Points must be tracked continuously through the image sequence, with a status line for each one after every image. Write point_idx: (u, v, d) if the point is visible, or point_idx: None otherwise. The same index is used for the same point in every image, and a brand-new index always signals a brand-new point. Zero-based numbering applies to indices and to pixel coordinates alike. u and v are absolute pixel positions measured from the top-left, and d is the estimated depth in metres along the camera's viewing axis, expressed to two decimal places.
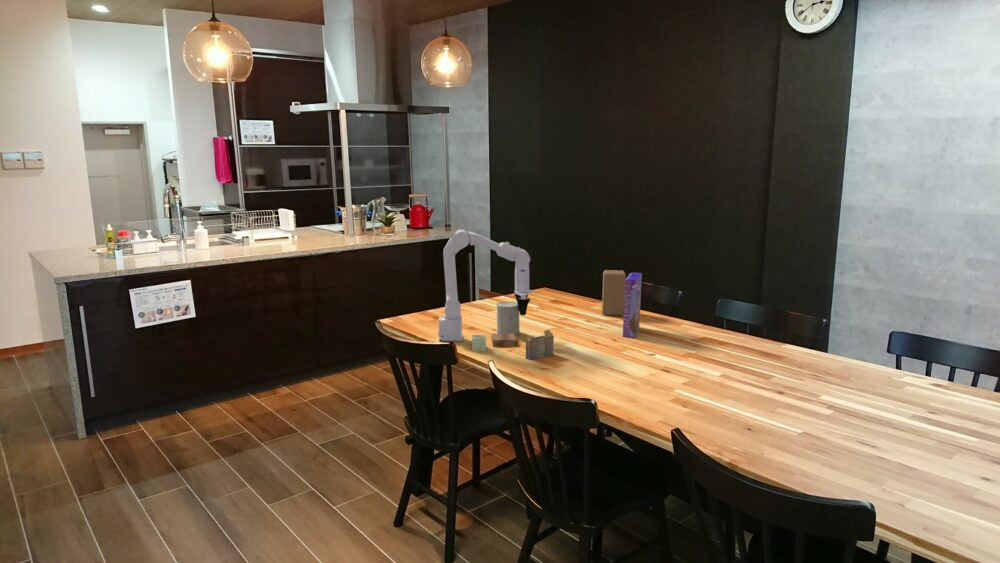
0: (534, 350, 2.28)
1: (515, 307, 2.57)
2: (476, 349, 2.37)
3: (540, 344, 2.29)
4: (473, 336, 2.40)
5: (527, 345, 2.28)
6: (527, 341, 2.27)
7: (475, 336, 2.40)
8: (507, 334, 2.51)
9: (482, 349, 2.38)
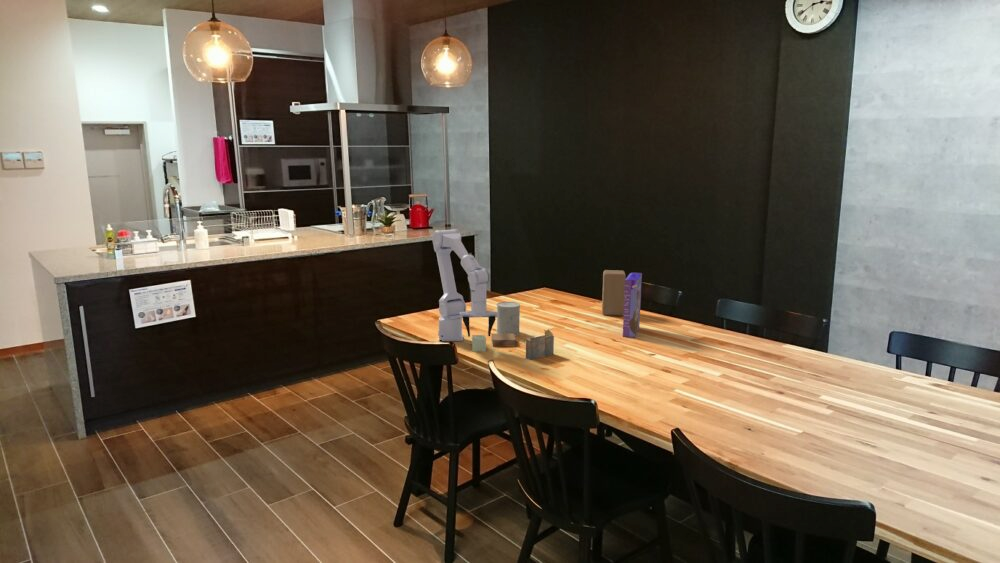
0: (534, 350, 2.28)
1: (515, 307, 2.56)
2: (476, 349, 2.37)
3: (540, 344, 2.29)
4: (473, 336, 2.40)
5: (527, 345, 2.28)
6: (527, 341, 2.27)
7: (475, 336, 2.40)
8: (507, 334, 2.51)
9: (482, 349, 2.38)
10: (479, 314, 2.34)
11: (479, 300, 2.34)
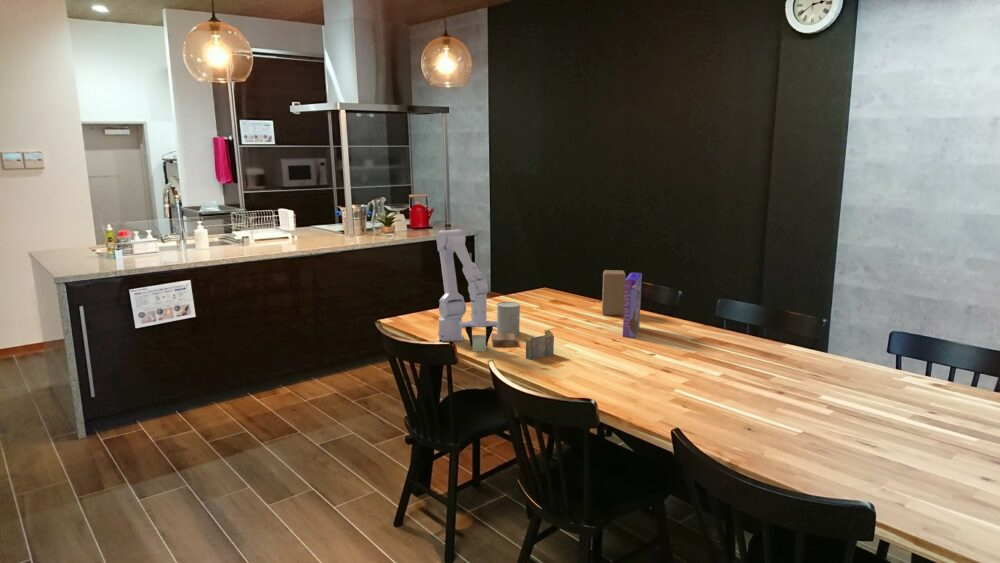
0: (534, 350, 2.28)
1: (515, 307, 2.57)
2: (476, 349, 2.37)
3: (540, 344, 2.29)
4: (473, 336, 2.40)
5: (527, 345, 2.28)
6: (527, 341, 2.27)
7: (475, 336, 2.40)
8: (507, 334, 2.51)
9: (482, 349, 2.38)
10: (479, 324, 2.35)
11: (479, 310, 2.34)
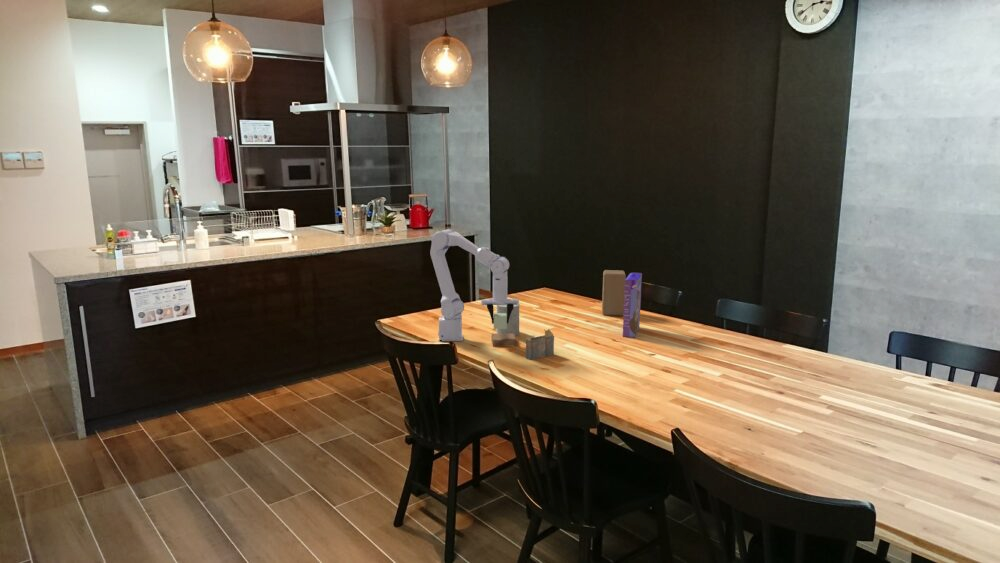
0: (534, 350, 2.28)
1: (515, 307, 2.56)
2: (497, 327, 2.43)
3: (540, 344, 2.29)
4: (494, 314, 2.45)
5: (527, 345, 2.28)
6: (527, 341, 2.27)
7: (496, 314, 2.45)
8: (507, 334, 2.51)
9: (503, 327, 2.43)
10: (500, 302, 2.40)
11: (504, 288, 2.41)
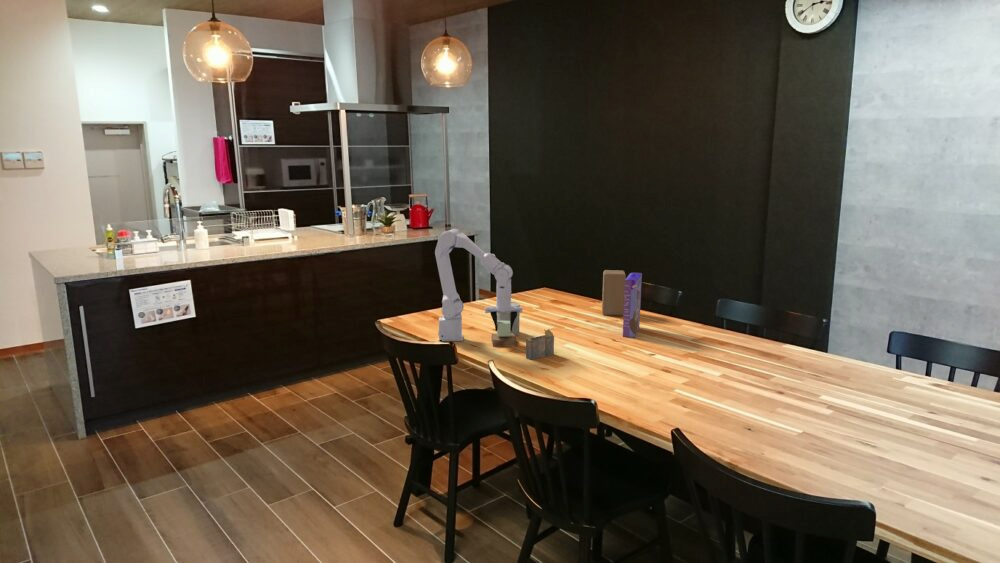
0: (534, 350, 2.28)
1: None
2: (501, 334, 2.45)
3: (540, 344, 2.29)
4: (498, 321, 2.47)
5: (527, 345, 2.28)
6: (527, 341, 2.27)
7: (500, 321, 2.47)
8: None
9: (507, 334, 2.45)
10: (504, 309, 2.42)
11: (508, 295, 2.43)
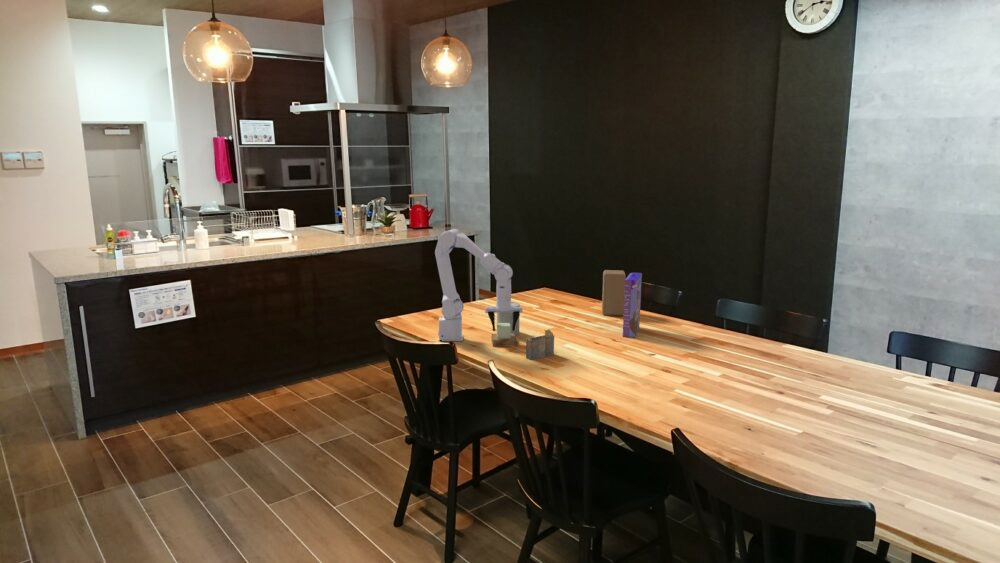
0: (534, 350, 2.28)
1: None
2: (501, 336, 2.45)
3: (540, 344, 2.29)
4: (498, 324, 2.47)
5: (527, 345, 2.28)
6: (527, 341, 2.27)
7: (500, 324, 2.47)
8: None
9: (507, 336, 2.45)
10: (504, 309, 2.42)
11: (508, 295, 2.43)
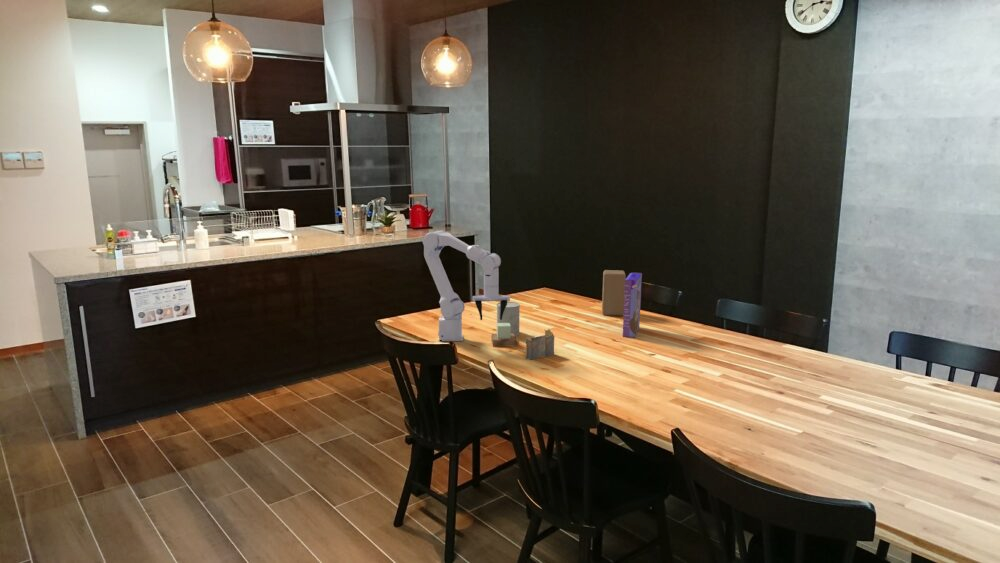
0: (535, 350, 2.28)
1: (515, 307, 2.56)
2: (501, 336, 2.45)
3: (541, 344, 2.29)
4: (498, 324, 2.47)
5: (528, 345, 2.28)
6: (528, 341, 2.27)
7: (500, 324, 2.47)
8: None
9: (507, 336, 2.45)
10: (491, 298, 2.40)
11: (495, 284, 2.40)
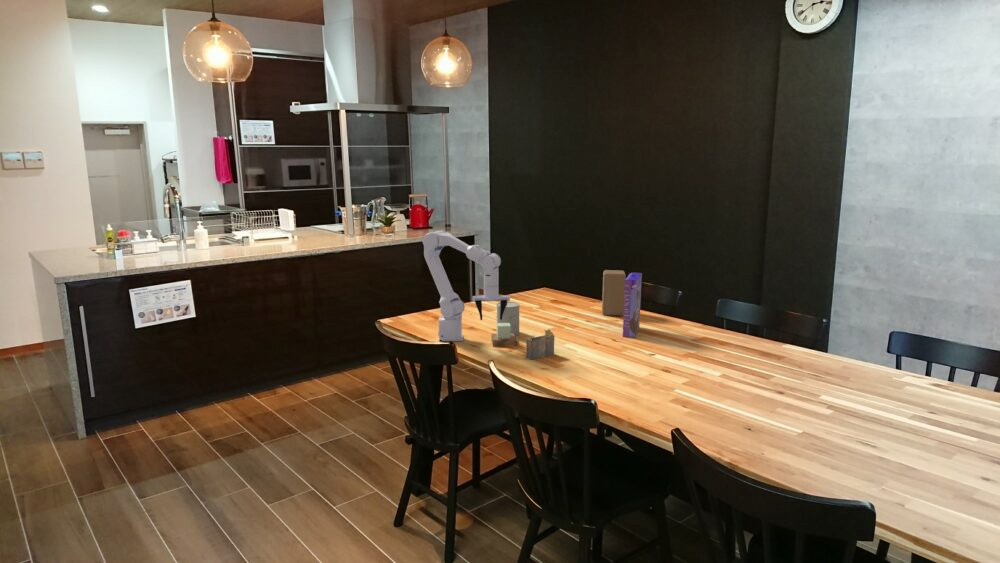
0: (535, 350, 2.28)
1: (515, 307, 2.56)
2: (501, 336, 2.45)
3: (541, 344, 2.29)
4: (498, 324, 2.47)
5: (528, 345, 2.28)
6: (528, 341, 2.27)
7: (500, 324, 2.47)
8: None
9: (507, 336, 2.45)
10: (491, 298, 2.40)
11: (495, 284, 2.40)
